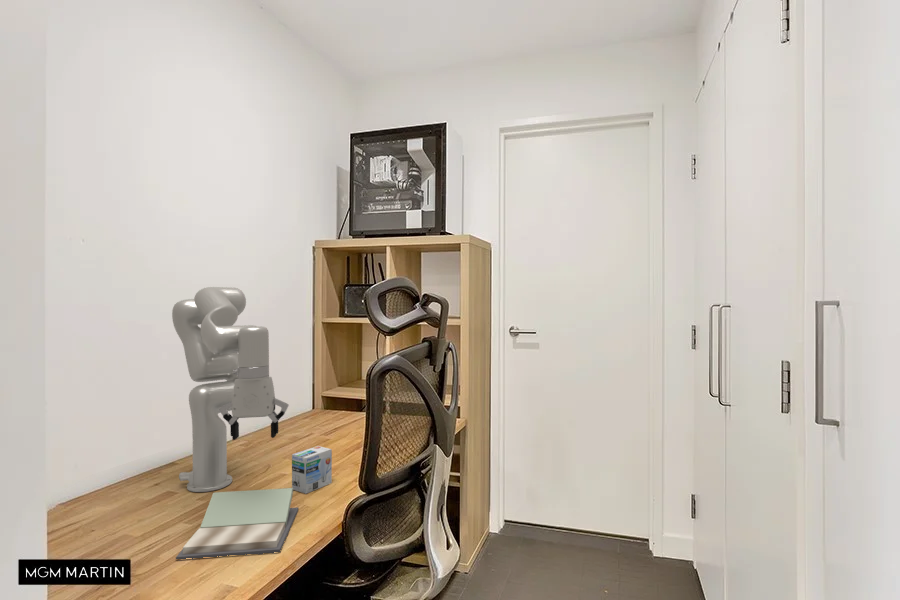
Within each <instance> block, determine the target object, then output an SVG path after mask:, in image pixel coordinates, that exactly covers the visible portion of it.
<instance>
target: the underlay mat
mask: <svg viewBox="0 0 900 600" xmlns="http://www.w3.org/2000/svg"><path fill="white" fill-rule="evenodd" d="M298 512H299V507H290V510H289V515H288V520H287V525H286V527H285V530H284V532H283V534H282V536H281V538H280V540H279V543H278V545H277V547H275V548H261V549H248V550H234V551H221V552H207V553H194V554H183V548H182V549H181V551H179V553H178V554H177V555H176V557H175V560H176V559H186V558H192V560H194V559H193V558H203V557H217V556H218V557H219V556H227V555H228V556H229V555H245V554H246V555H245V556H248V555H247V554H258V555H264V554H263V553H272V554H275V553H274V552H280V553H281V551H282V549H283V547H284V545H285V542H286V540H287V538H286V537H288V535H289V533H290V531H291V529H290V528H292V526H293V524H294V522H295V520H296V517H297V515H298ZM285 539H286V540H285ZM284 541H285V542H284ZM283 544H284V545H283ZM282 546H283V547H282ZM281 548H282V549H281ZM280 550H281V551H280ZM219 558H220V557H219Z"/></svg>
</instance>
